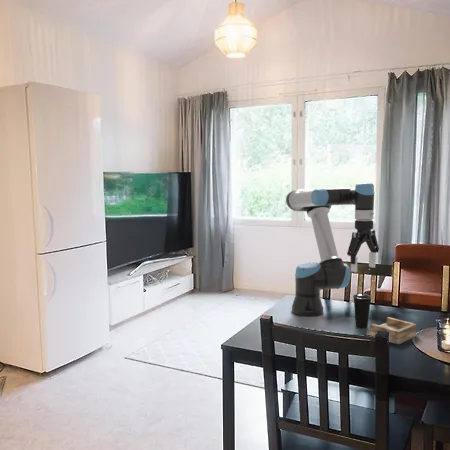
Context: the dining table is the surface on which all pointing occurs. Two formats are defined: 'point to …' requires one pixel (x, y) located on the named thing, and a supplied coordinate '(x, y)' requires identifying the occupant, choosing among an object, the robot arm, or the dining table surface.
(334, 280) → the robot arm
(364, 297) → the drinking cup
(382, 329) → the tray
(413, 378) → the dining table surface
